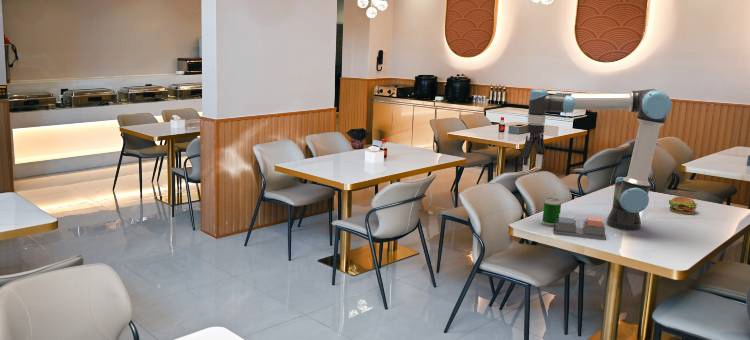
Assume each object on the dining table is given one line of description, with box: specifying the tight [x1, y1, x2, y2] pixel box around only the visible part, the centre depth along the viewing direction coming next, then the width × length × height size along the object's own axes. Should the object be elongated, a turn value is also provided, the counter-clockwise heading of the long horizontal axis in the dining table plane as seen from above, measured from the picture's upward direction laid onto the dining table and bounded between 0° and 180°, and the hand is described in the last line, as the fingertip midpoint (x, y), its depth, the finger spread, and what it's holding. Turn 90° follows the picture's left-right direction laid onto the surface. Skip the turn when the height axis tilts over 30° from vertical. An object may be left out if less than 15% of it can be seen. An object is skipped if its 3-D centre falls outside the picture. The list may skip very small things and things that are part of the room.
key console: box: [552, 218, 607, 241], centre depth 295 cm, size 22×11×5 cm, turn 75°
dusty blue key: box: [559, 213, 575, 224], centre depth 296 cm, size 6×6×3 cm
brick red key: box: [585, 216, 604, 227], centre depth 293 cm, size 6×6×3 cm
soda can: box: [541, 197, 562, 227], centre depth 307 cm, size 8×8×12 cm
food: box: [668, 195, 698, 215], centre depth 346 cm, size 14×14×8 cm
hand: (532, 170), depth 304 cm, fingers open, 13 cm apart
